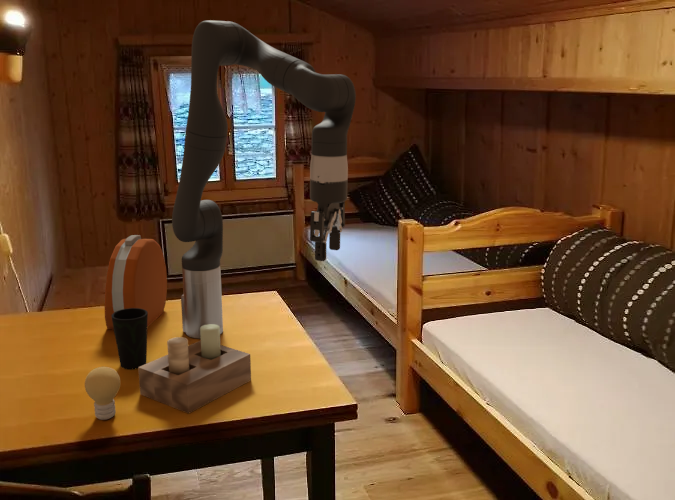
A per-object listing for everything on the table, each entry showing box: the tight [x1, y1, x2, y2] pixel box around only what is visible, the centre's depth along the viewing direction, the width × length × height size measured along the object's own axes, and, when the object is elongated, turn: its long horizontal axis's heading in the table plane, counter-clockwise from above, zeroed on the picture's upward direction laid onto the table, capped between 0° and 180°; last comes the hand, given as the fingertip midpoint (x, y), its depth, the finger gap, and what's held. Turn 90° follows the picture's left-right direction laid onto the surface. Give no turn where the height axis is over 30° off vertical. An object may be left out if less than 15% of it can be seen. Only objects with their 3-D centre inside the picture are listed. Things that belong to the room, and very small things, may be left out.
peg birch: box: [166, 336, 189, 375], centre depth 142 cm, size 4×4×7 cm
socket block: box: [137, 339, 252, 414], centre depth 146 cm, size 14×18×6 cm
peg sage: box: [200, 324, 221, 360], centre depth 149 cm, size 4×4×7 cm
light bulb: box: [84, 366, 121, 421], centre depth 134 cm, size 6×6×10 cm
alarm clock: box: [104, 234, 168, 330], centre depth 183 cm, size 22×10×23 cm, turn 172°
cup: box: [111, 308, 148, 370], centre depth 157 cm, size 8×8×12 cm
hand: (327, 254), depth 146 cm, fingers open, 8 cm apart
